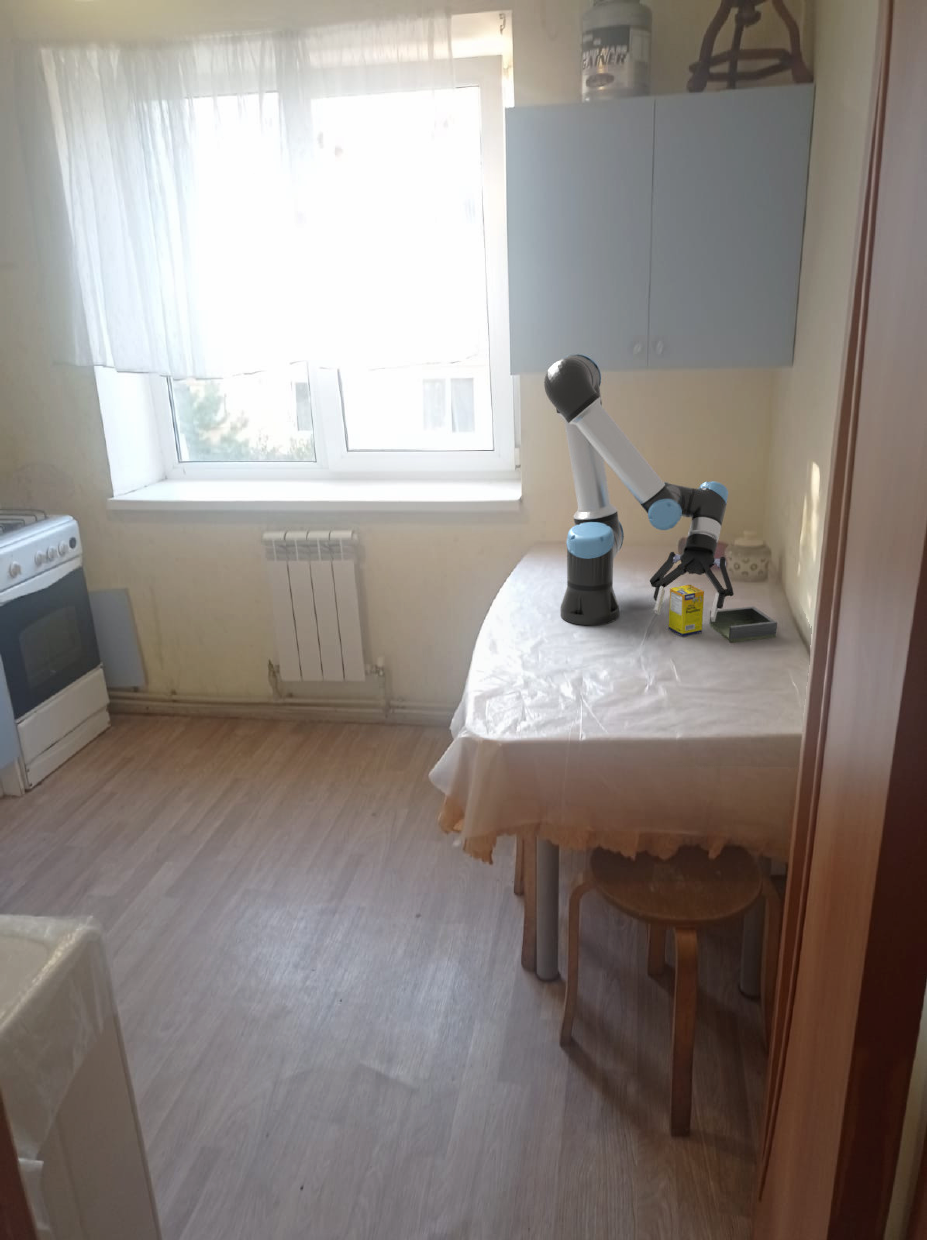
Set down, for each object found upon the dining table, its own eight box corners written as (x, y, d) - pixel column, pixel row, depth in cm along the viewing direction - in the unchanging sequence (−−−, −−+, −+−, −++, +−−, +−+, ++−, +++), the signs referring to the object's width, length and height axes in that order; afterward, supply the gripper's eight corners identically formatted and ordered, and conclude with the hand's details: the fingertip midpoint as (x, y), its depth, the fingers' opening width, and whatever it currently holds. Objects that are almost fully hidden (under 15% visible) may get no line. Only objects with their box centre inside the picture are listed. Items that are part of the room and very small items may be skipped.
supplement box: (702, 633, 215) (704, 590, 211) (681, 637, 213) (683, 594, 209) (688, 625, 220) (690, 583, 216) (667, 629, 218) (669, 587, 214)
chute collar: (709, 625, 219) (710, 611, 218) (752, 620, 221) (753, 606, 220) (730, 642, 209) (731, 627, 207) (775, 637, 210) (777, 622, 209)
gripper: (755, 551, 218) (738, 629, 211) (656, 542, 229) (637, 615, 222) (752, 536, 211) (735, 615, 204) (650, 528, 222) (631, 602, 216)
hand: (684, 615), depth 213 cm, fingers open, 13 cm apart
